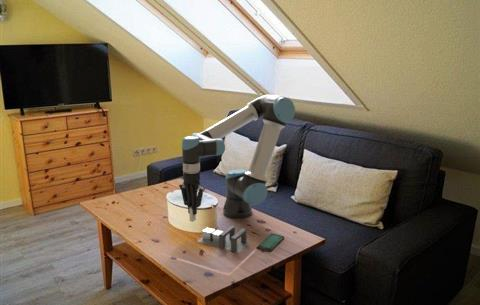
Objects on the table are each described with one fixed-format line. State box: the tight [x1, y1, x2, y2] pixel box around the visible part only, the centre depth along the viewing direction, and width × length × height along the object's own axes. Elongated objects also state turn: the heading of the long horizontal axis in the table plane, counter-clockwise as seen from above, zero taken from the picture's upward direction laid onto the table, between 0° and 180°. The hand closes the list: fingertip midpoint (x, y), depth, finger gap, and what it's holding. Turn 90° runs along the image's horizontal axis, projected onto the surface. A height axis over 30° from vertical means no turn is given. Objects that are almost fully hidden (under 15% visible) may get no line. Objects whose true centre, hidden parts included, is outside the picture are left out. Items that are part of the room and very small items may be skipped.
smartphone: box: [255, 232, 285, 253], centre depth 176 cm, size 7×1×15 cm
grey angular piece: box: [196, 225, 251, 254], centre depth 174 cm, size 10×22×7 cm, turn 60°
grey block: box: [201, 227, 227, 243], centre depth 177 cm, size 10×4×4 cm, turn 60°
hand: (192, 220), depth 181 cm, fingers closed
